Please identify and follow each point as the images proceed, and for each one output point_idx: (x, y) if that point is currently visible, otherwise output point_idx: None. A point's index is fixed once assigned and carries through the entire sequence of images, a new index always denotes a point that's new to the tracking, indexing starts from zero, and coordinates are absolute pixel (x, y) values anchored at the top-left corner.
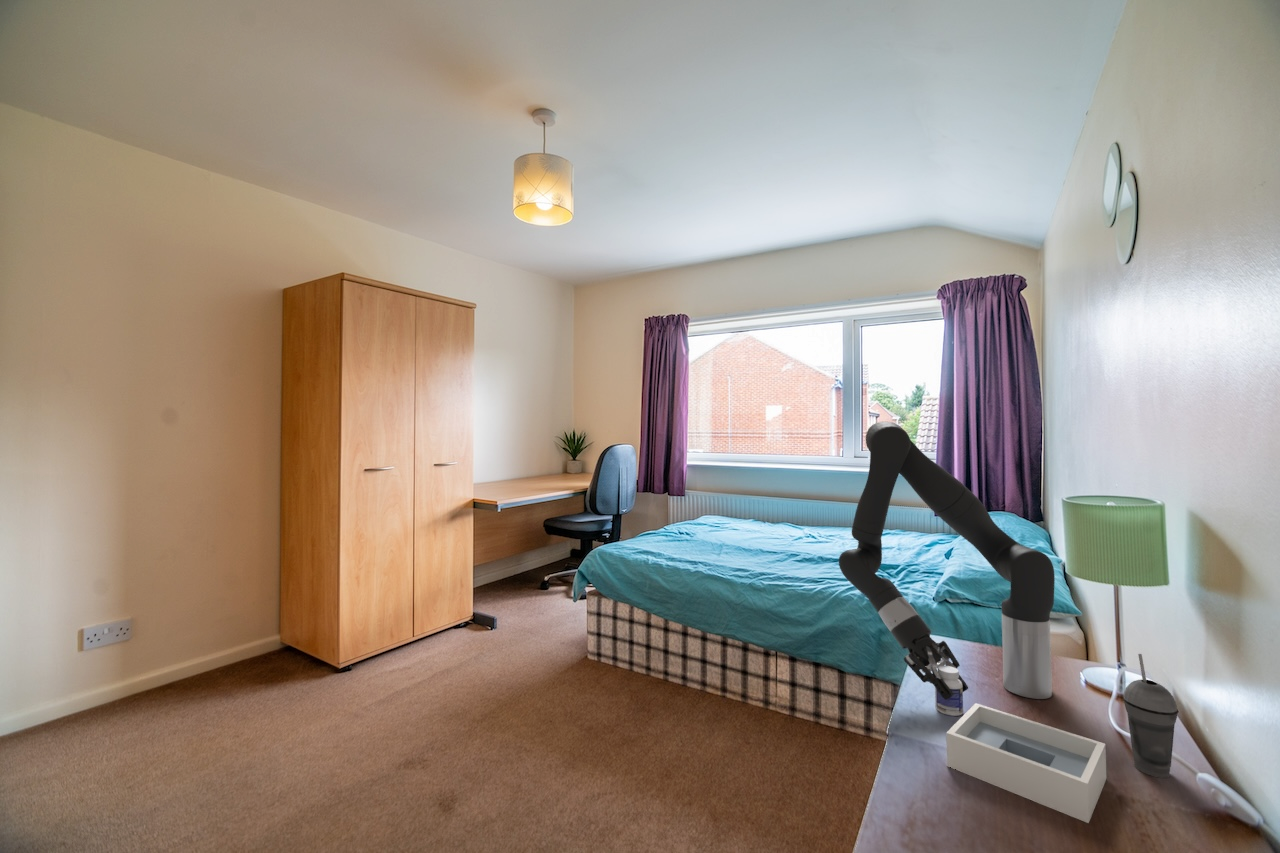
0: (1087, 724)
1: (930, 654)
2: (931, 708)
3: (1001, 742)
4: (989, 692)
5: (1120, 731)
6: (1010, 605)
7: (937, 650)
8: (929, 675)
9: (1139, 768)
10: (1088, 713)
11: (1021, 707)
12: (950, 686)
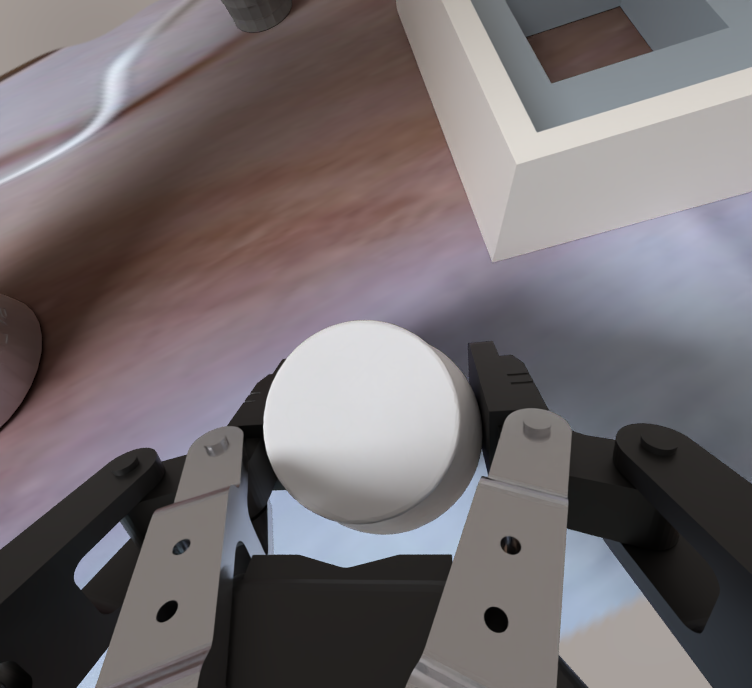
0: (121, 164)
1: (472, 675)
2: (465, 505)
3: (600, 72)
4: (81, 444)
5: (106, 118)
6: None
7: (187, 677)
8: (691, 444)
9: (285, 9)
10: (44, 198)
11: (137, 306)
12: (453, 363)
